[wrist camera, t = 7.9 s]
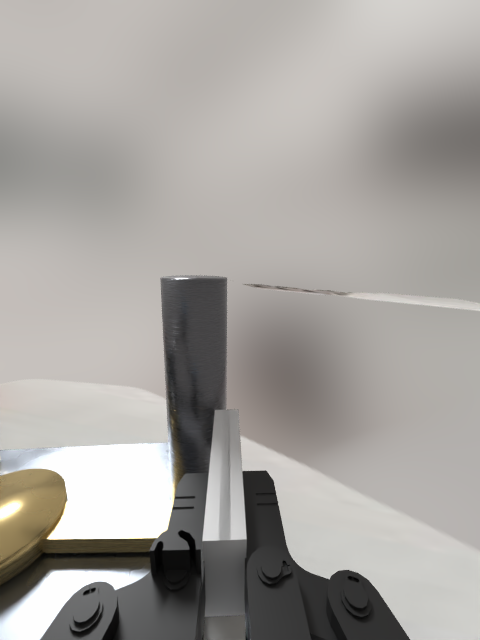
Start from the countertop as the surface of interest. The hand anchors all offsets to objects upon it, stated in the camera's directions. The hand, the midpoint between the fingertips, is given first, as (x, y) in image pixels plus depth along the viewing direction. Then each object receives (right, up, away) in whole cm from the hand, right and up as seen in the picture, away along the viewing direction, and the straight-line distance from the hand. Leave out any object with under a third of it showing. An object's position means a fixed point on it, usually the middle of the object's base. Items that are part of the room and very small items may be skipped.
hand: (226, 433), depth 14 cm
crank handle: (-9, -7, +3) cm, 12 cm away
